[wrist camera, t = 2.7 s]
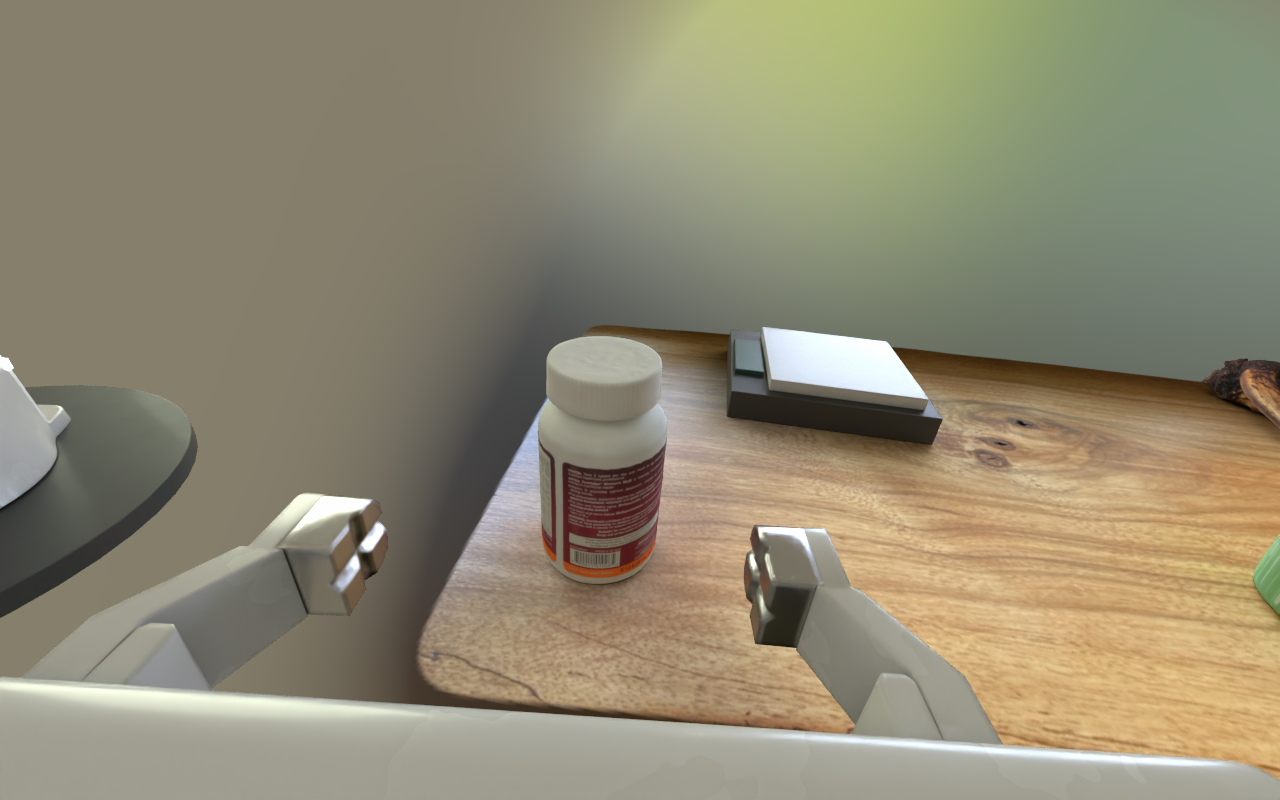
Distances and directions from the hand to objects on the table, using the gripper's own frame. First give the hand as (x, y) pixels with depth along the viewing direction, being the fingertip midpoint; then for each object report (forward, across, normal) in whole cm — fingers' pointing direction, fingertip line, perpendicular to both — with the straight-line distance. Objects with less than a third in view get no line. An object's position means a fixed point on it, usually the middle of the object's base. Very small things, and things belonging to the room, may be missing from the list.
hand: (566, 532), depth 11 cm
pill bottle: (+12, 0, +13) cm, 18 cm away
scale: (+33, -17, +13) cm, 40 cm away
